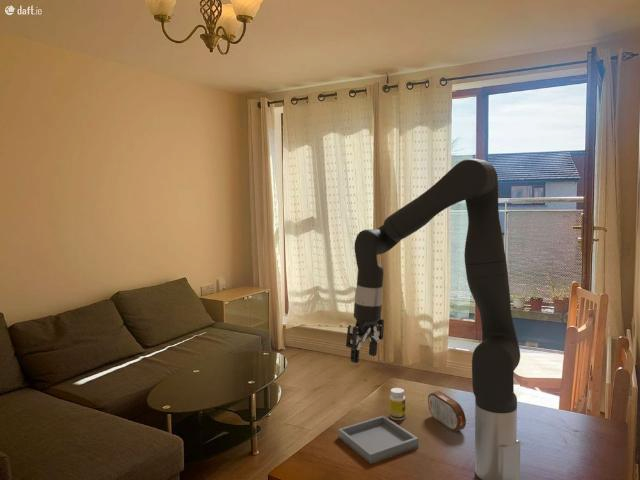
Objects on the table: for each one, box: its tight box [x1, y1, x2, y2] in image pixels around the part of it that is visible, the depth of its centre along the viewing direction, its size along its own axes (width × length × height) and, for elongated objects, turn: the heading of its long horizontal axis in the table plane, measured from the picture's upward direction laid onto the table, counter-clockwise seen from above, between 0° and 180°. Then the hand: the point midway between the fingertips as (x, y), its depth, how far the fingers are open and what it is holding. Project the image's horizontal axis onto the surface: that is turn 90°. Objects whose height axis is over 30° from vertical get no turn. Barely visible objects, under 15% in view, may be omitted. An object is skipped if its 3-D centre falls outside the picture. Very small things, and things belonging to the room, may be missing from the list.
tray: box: [337, 415, 420, 465], centre depth 129 cm, size 16×16×2 cm
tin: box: [427, 390, 467, 432], centre depth 138 cm, size 15×3×8 cm, turn 22°
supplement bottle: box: [389, 387, 406, 421], centre depth 144 cm, size 5×5×8 cm
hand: (363, 358), depth 132 cm, fingers open, 8 cm apart
